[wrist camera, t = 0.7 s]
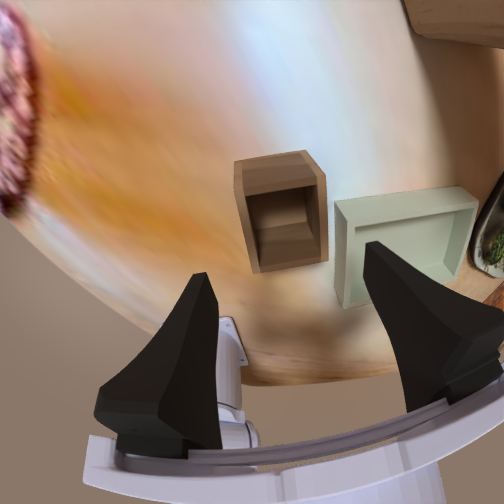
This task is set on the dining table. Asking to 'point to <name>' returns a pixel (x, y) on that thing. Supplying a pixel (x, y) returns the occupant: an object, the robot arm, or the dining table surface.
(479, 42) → the wooden block
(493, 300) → the tin
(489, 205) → the salad plate
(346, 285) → the sage crate
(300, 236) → the walnut crate
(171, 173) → the dining table surface
